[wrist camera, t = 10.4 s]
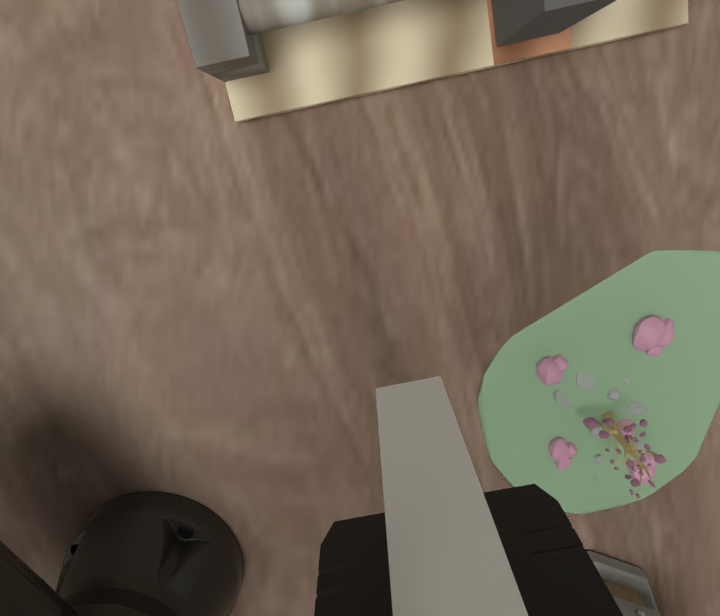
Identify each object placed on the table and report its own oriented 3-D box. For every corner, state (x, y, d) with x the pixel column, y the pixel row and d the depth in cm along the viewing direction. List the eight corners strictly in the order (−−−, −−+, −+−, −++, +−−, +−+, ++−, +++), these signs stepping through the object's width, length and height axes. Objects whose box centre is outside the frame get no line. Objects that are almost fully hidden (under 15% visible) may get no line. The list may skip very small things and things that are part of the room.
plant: (591, 180, 39) (658, 190, 30) (816, 295, 41) (938, 334, 33) (435, 451, 45) (452, 523, 37) (637, 536, 48) (698, 621, 39)
